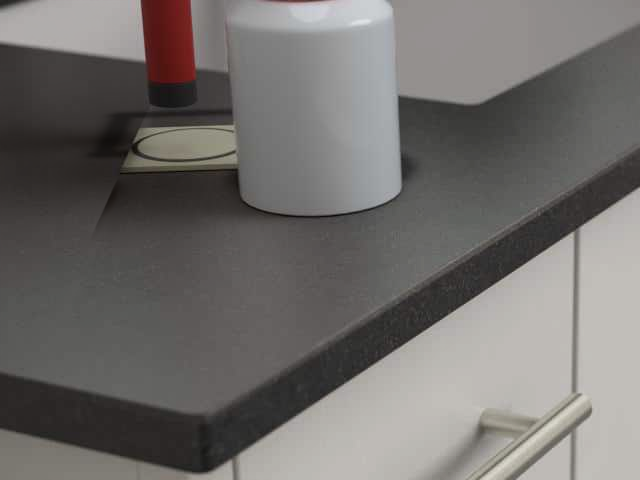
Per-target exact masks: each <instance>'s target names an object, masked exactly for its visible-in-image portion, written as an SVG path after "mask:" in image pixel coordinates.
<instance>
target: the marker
mask: <svg viewBox="0 0 640 480" xmlns="http://www.w3.org/2000/svg"><path fill="white" fill-rule="evenodd" d="M191 3H192V1H191V0H140V11H141V22H142V23H141V24H142V34H143V47H144V57H145V58H144V59H145V69H146V79H147V80H146V81H147V82H146V83H147V93H148V102H149V105H151V106H153V107H157V108H162V109H180V108H187V107H190V106H194V105H196V104H197V103H198V100H199V98H198V85H197V71H196V69H197V68H196V57H195V55H196V54H195V44H194V43H195V41H194V28H193V15H192V13H193V12H192V4H191Z"/></svg>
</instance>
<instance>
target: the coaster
mask: <svg viewBox="0 0 640 480" xmlns="http://www.w3.org/2000/svg"><path fill="white" fill-rule="evenodd" d="M212 170H213V171H214V170H215V171H217V170H238V168H237V157H236V147H235V136H234V125H233V124H227V125H225V124H221V125H196V126H195V125H194V126H166V127H163V126H162V127H139V128H138V130H137V133H136V135H135V138H134V140H133V142H132V144H131V147H130V148H129V151H128V153H127V155H126V158H125V159H124V162H123V165H122V166H121V168H120V171H119V174H125V173H128V174H129V173H130V174H131V173H155V172H157V173H158V172H180V171H181V172H185V171H186V172H187V171H212Z"/></svg>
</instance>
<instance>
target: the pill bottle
mask: <svg viewBox="0 0 640 480" xmlns="http://www.w3.org/2000/svg"><path fill="white" fill-rule="evenodd" d="M223 27H224V28H223V29H224V38H225V49H226V60H227V70H228V81H229V92H230V93H229V94H230V103H231V113H232V114H231V115H232V125H234V136H235V147H236V157H237V168H238V169H237V178H238V187H239V196H240V197H241V199H242V201H243V202H245V204H247V205H248V206H250V207H253V208H254V209H257V210H260V211H264V212H267V213H271V214H277V215H282V216H283V215H284V216H296V217H323V216H335V215H336V216H337V215H345V214H351V213H356V212H357V213H358V212H361V211H365V210H368V209H373V208H376V207H379V206H382V205H384V204H386V203H388V202H390V201H392V200H393V199H395V198H396V197H397V196H398V195H399V194H400V193H401V191H402V190H403V189H402V188H403V178H402V176H403V175H402V174H403V173H402V154H401V153H402V152H401V135H400V134H401V133H400V112H399V111H400V107H399V92H398V91H399V90H398V89H399V88H398V87H399V86H398V69H397V68H398V67H397V45H396V43H397V42H396V19H395V11H394V8H393V5H392V4H391V3H390V2H389V1H388V0H234V1H233V2H232V3H231V4H230V5H229V6H228V8H226V10H225V12H224V16H223Z"/></svg>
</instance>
